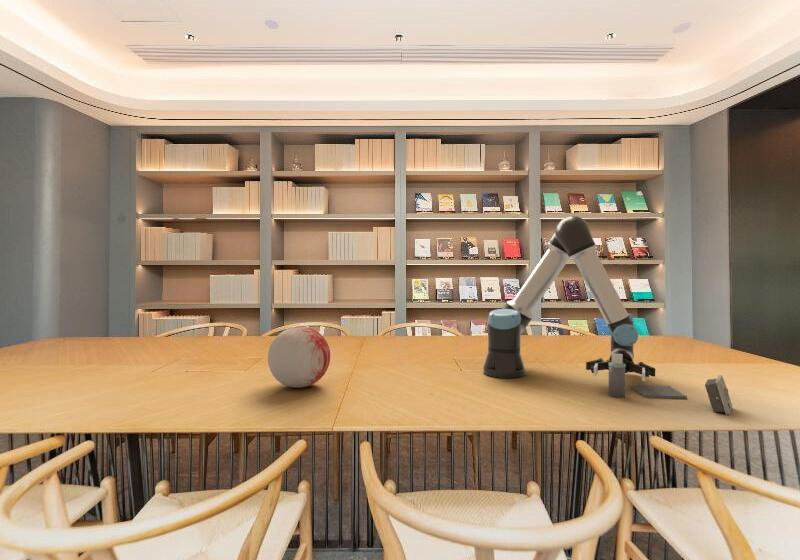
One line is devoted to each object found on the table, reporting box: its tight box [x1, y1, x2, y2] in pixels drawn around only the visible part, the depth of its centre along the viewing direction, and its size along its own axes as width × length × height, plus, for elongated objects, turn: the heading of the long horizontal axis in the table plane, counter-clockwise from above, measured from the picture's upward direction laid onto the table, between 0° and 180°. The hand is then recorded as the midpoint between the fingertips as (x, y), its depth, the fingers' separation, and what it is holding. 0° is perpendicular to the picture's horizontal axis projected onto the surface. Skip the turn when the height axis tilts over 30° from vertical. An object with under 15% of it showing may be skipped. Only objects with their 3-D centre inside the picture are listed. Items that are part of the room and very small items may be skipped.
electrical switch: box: [704, 374, 733, 416], centre depth 132 cm, size 9×5×9 cm, turn 141°
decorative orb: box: [267, 326, 331, 389], centre depth 156 cm, size 21×20×20 cm
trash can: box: [607, 353, 626, 399], centre depth 146 cm, size 5×5×13 cm
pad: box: [630, 384, 688, 400], centre depth 149 cm, size 12×12×1 cm
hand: (618, 374), depth 145 cm, fingers open, 13 cm apart
